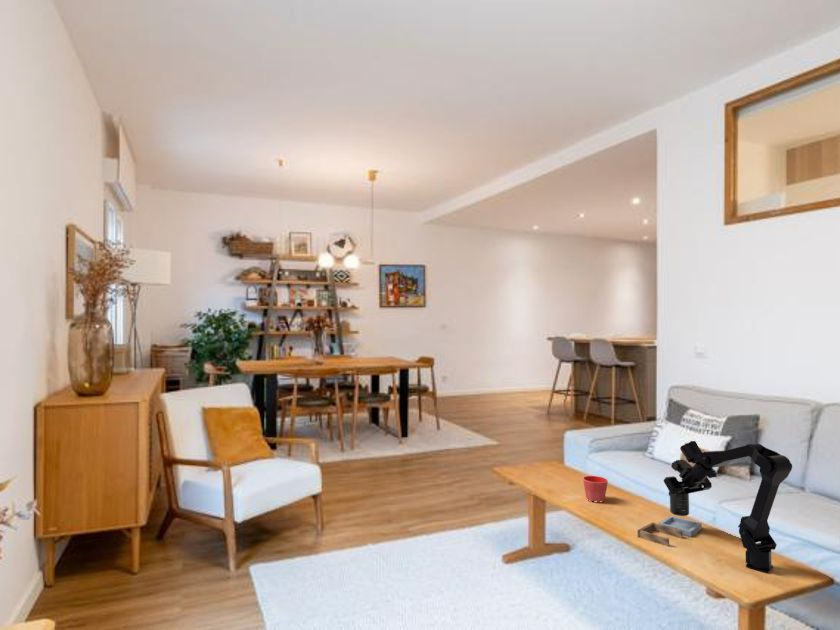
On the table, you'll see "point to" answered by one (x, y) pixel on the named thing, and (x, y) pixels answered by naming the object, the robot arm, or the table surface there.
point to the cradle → (661, 528)
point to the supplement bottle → (680, 503)
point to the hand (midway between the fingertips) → (676, 494)
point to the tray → (682, 525)
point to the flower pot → (595, 488)
